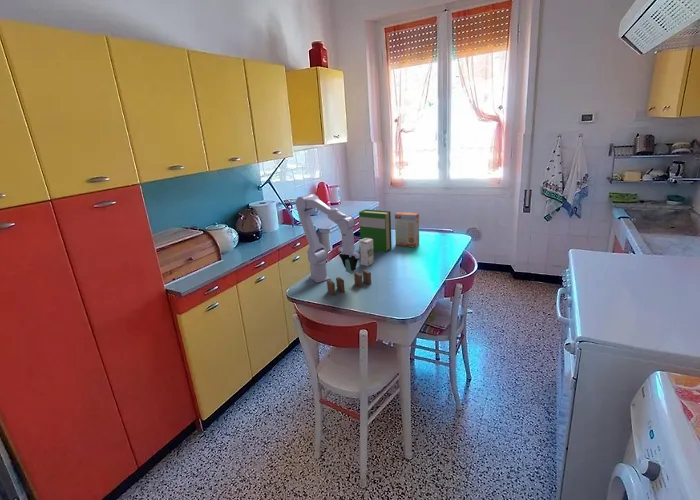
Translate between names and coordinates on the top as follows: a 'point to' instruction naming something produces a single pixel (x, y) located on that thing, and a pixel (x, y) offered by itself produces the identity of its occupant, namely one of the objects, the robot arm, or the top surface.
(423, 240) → the top surface
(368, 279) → the tile
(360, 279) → the tile
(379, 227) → the hardback book
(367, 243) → the syrup box
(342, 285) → the tile
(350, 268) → the teal tile
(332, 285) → the tile
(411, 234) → the cracker box
